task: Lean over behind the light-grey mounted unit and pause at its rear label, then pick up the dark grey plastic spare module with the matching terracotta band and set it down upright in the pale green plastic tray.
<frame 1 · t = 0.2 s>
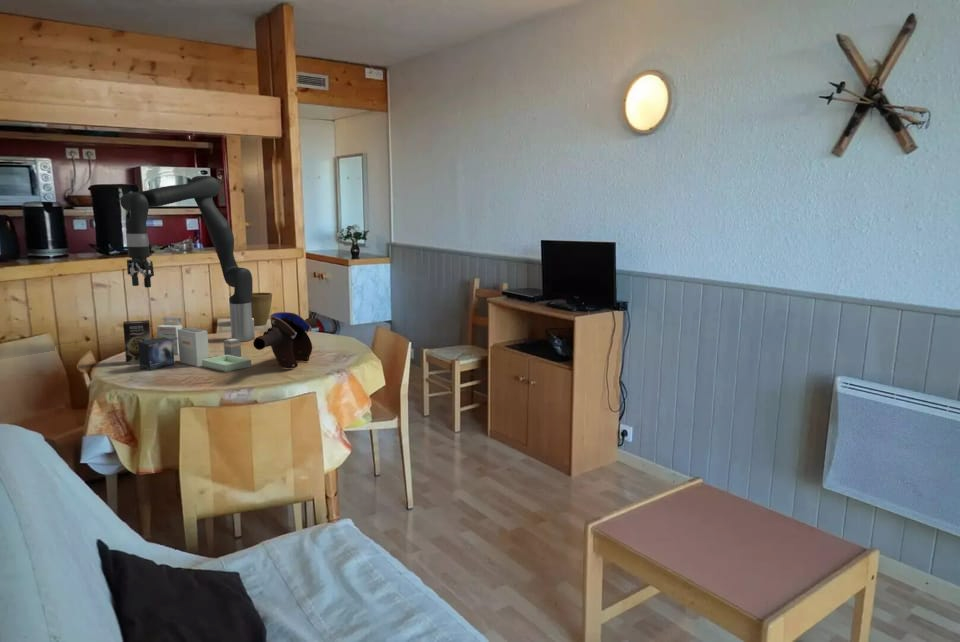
hand: (141, 286, 251), 29 cm above the table, fingers open, 8 cm apart
ink cartridge box: (171, 353, 265), on the table
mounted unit: (194, 362, 249), on the table
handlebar: (289, 365, 247), on the table
tray: (226, 366, 244), on the table
small box: (157, 367, 242), on the table
coffee box: (139, 362, 249), on the table
plant pot: (258, 324, 331), on the table
spare module: (233, 356, 259), on the table
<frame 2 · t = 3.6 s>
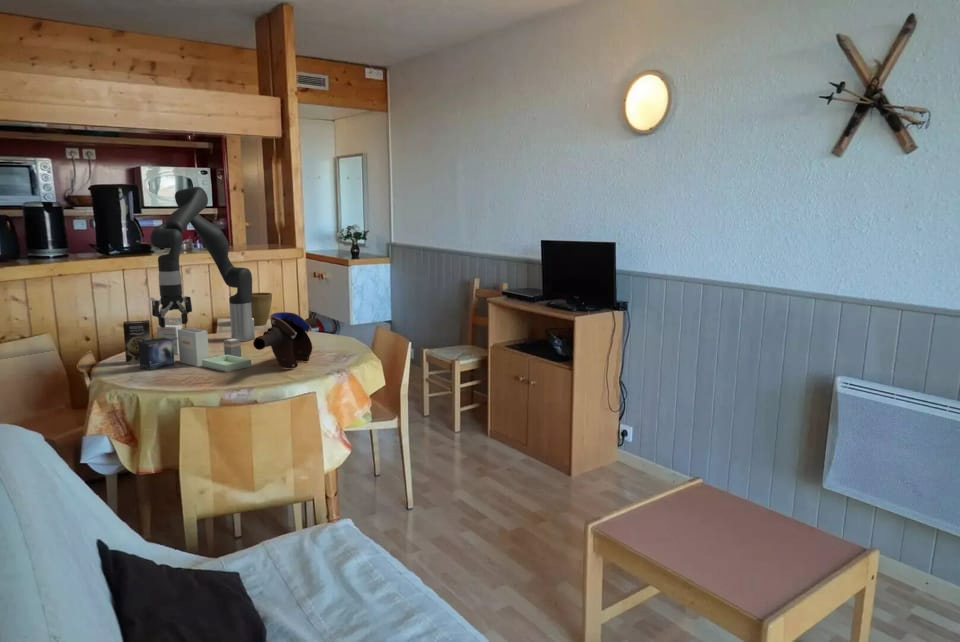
hand: (173, 325, 240), 16 cm above the table, fingers open, 8 cm apart
nothing on the table moved.
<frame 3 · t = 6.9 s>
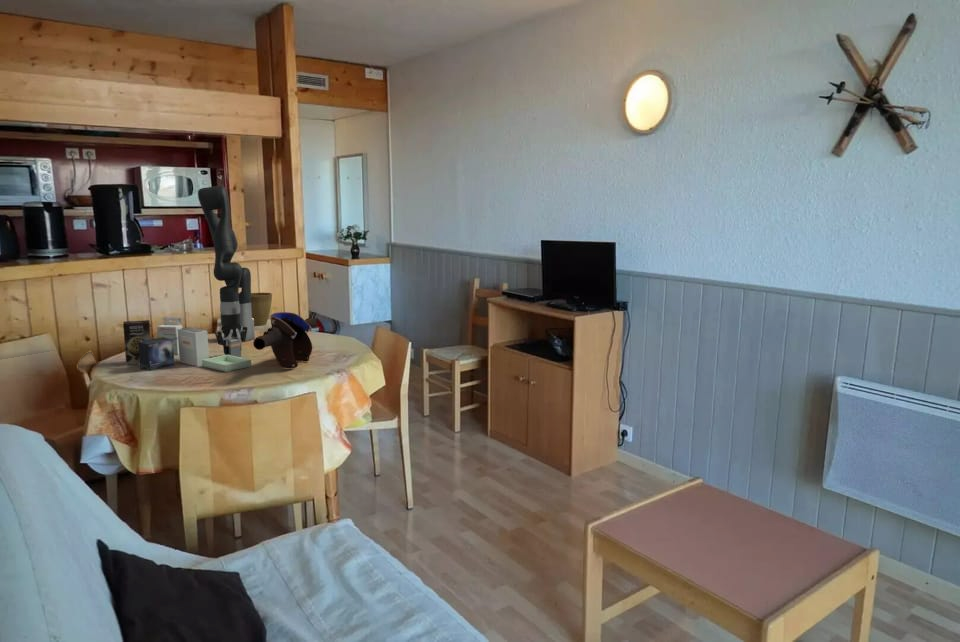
hand: (232, 353, 259), 1 cm above the table, fingers closed on spare module, 4 cm apart
spare module: (232, 356, 259), on the table, touching gripper
everything else where it was.
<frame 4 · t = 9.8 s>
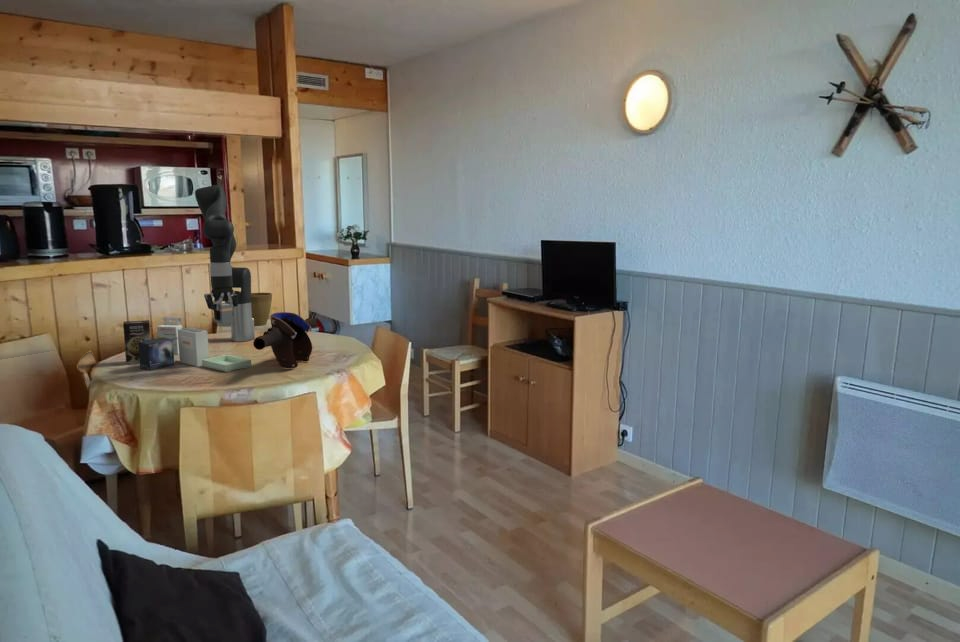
hand: (223, 319, 241), 18 cm above the table, fingers closed on spare module, 4 cm apart
spare module: (224, 322, 241), point 17 cm above the table, touching gripper
everything else where it was.
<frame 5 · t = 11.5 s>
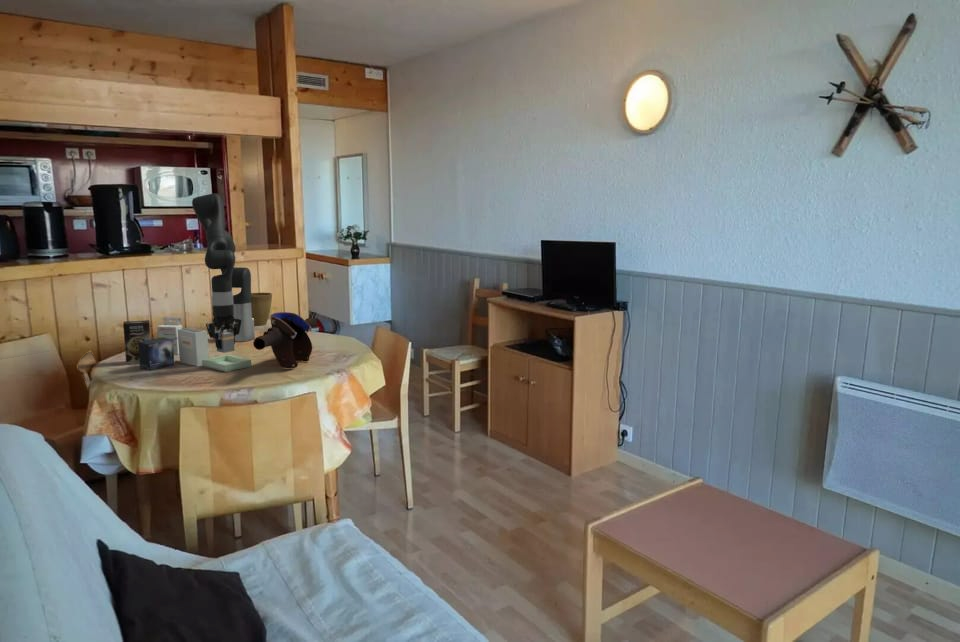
hand: (225, 347, 242), 7 cm above the table, fingers closed on spare module, 4 cm apart
spare module: (225, 350, 243), point 6 cm above the table, touching gripper
everything else where it was.
when the fingers open (3 cm above the table, at t = 12.8 s): spare module drops 1 cm, resting on tray.
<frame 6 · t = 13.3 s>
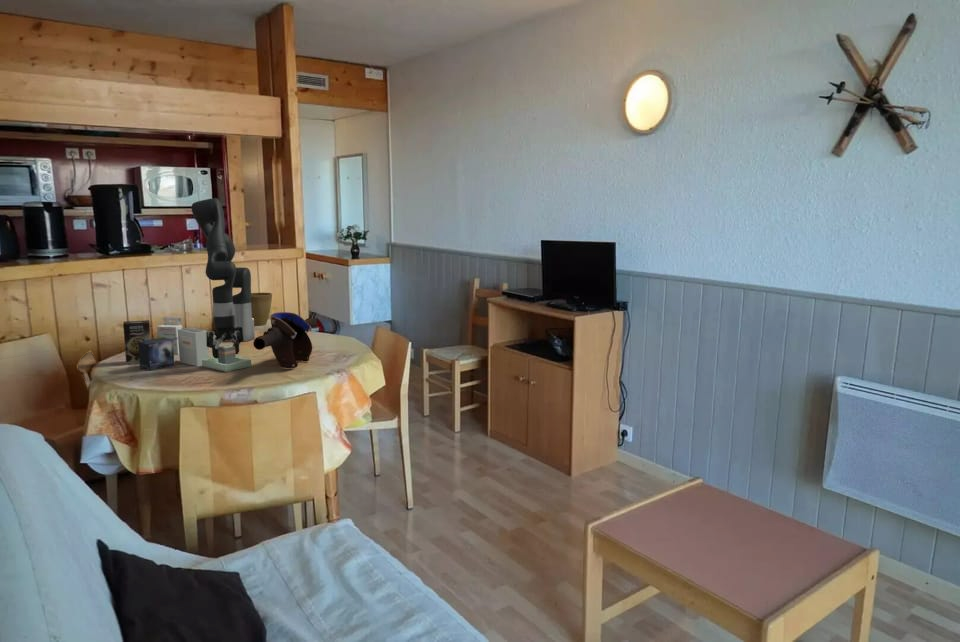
hand: (226, 355, 243), 4 cm above the table, fingers open, 8 cm apart
spare module: (227, 364, 244), point 1 cm above the table, touching tray
everything else where it was.
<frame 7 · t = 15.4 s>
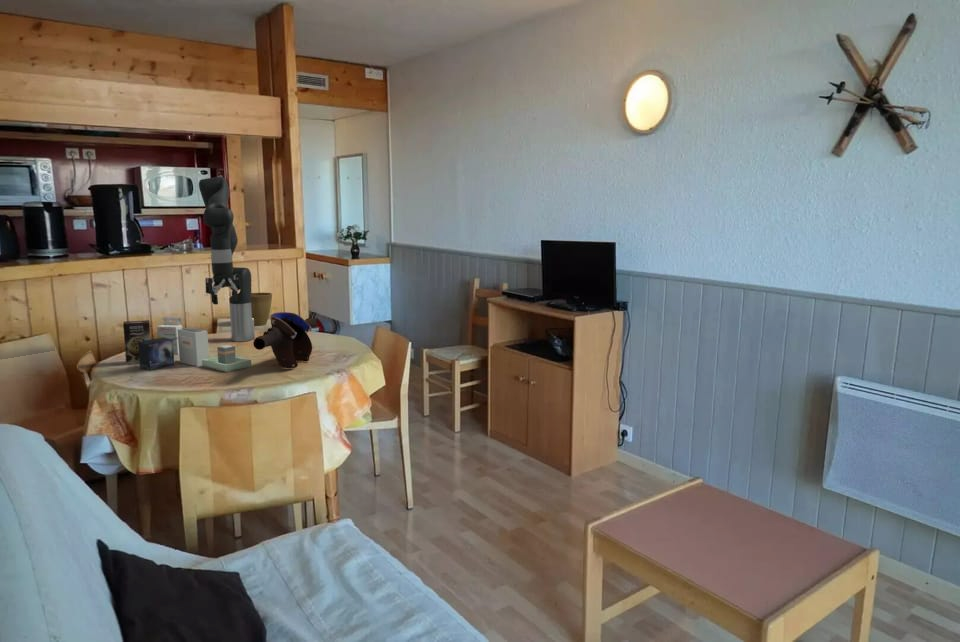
hand: (225, 302, 247), 24 cm above the table, fingers open, 8 cm apart
nothing on the table moved.
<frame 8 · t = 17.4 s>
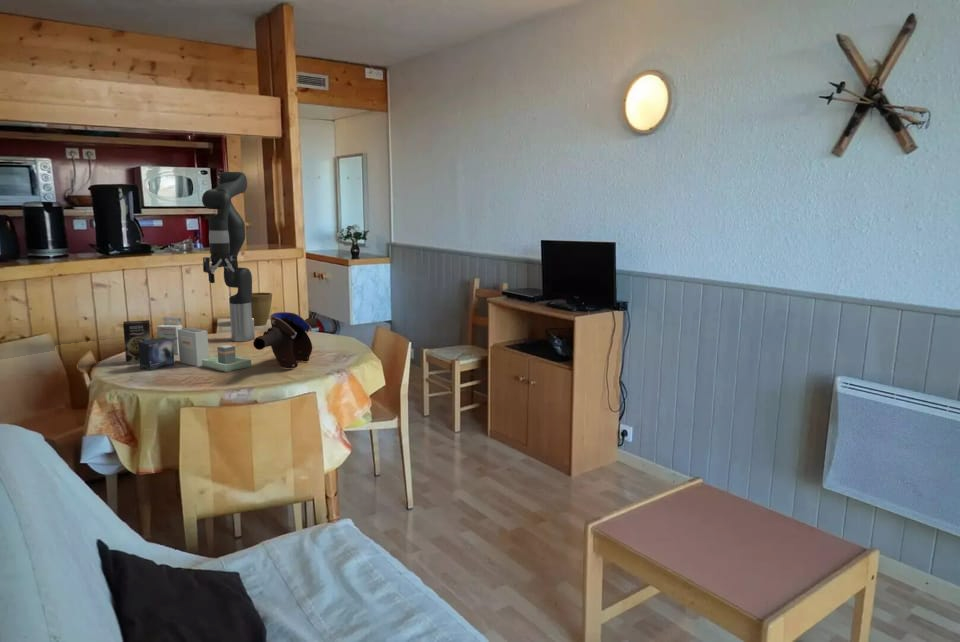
hand: (221, 282, 258), 30 cm above the table, fingers open, 8 cm apart
nothing on the table moved.
at the end: spare module inside the target area on the tray (0.2 cm from its centre), point 0.6 cm above the tray's base; spare module tilted 0°; the gripper is holding nothing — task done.
